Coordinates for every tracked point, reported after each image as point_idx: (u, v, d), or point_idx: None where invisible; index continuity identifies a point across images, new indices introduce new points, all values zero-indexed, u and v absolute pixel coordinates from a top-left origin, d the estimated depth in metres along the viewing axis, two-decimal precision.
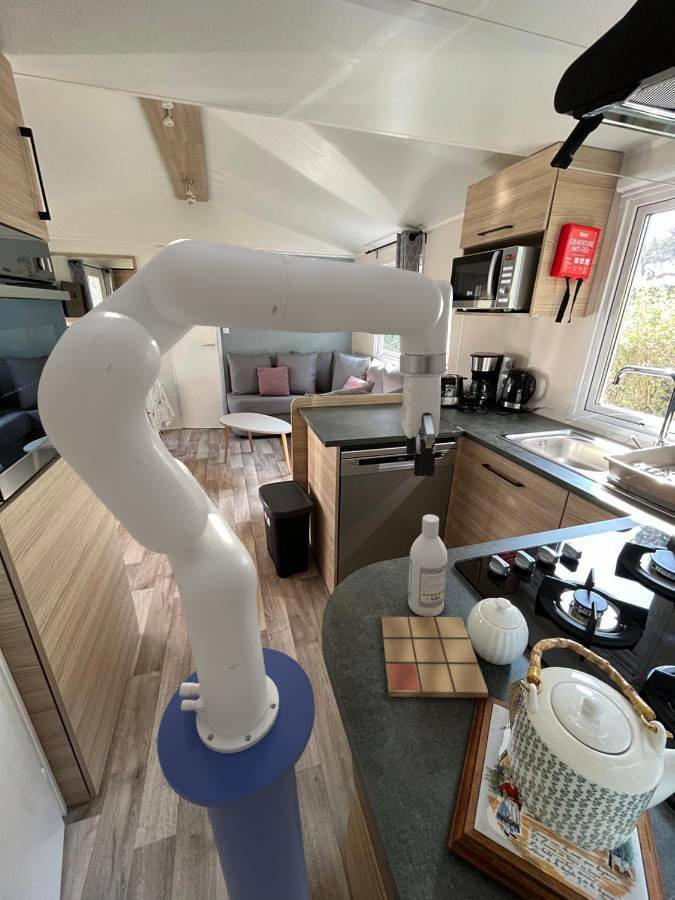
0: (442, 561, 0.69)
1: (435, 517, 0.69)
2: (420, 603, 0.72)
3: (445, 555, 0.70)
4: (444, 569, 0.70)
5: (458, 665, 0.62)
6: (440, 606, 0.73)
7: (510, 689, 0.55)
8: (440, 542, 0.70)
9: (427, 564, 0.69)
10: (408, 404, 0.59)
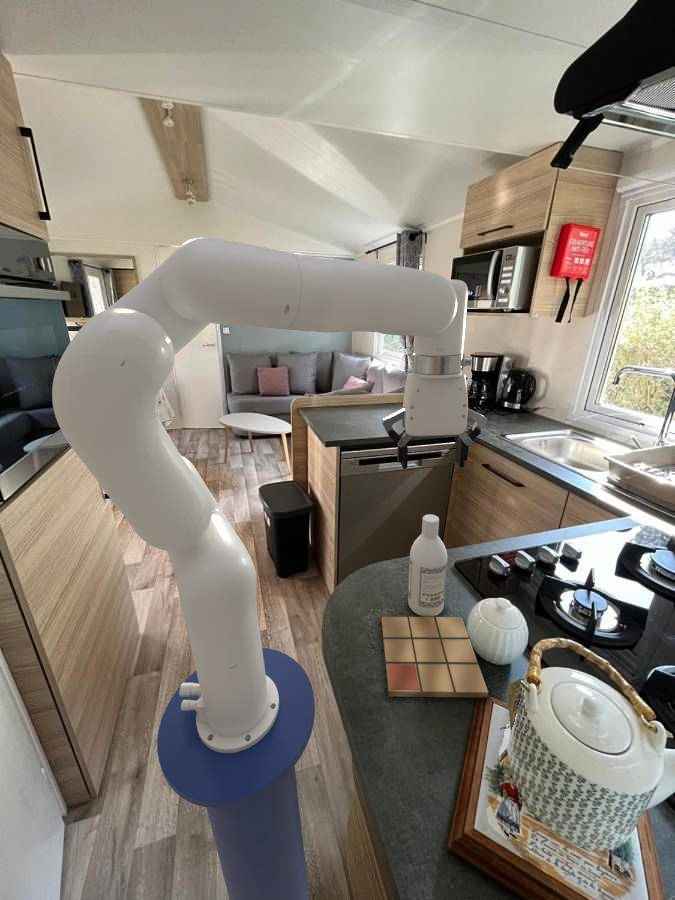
0: (442, 561, 0.69)
1: (435, 517, 0.69)
2: (420, 603, 0.72)
3: (445, 555, 0.70)
4: (444, 569, 0.70)
5: (458, 665, 0.62)
6: (440, 606, 0.73)
7: (510, 689, 0.55)
8: (440, 542, 0.70)
9: (427, 564, 0.69)
10: None
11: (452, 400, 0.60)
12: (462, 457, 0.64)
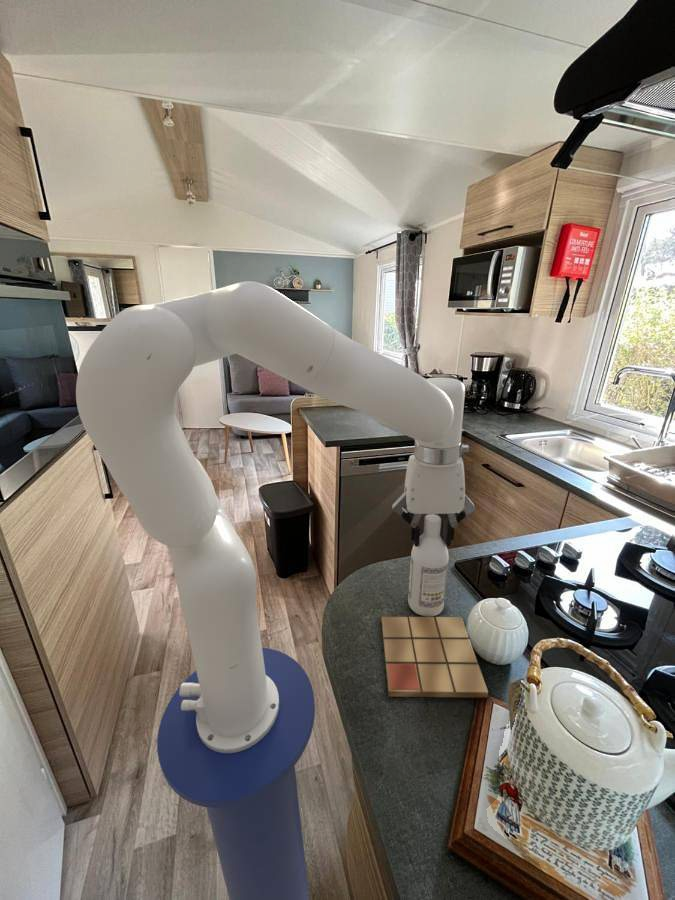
0: (443, 561, 0.69)
1: (437, 517, 0.69)
2: (421, 603, 0.72)
3: (446, 555, 0.70)
4: (445, 569, 0.70)
5: (458, 665, 0.62)
6: (440, 606, 0.73)
7: (510, 689, 0.55)
8: (442, 542, 0.70)
9: (428, 564, 0.69)
10: None
11: (450, 484, 0.64)
12: (448, 538, 0.69)
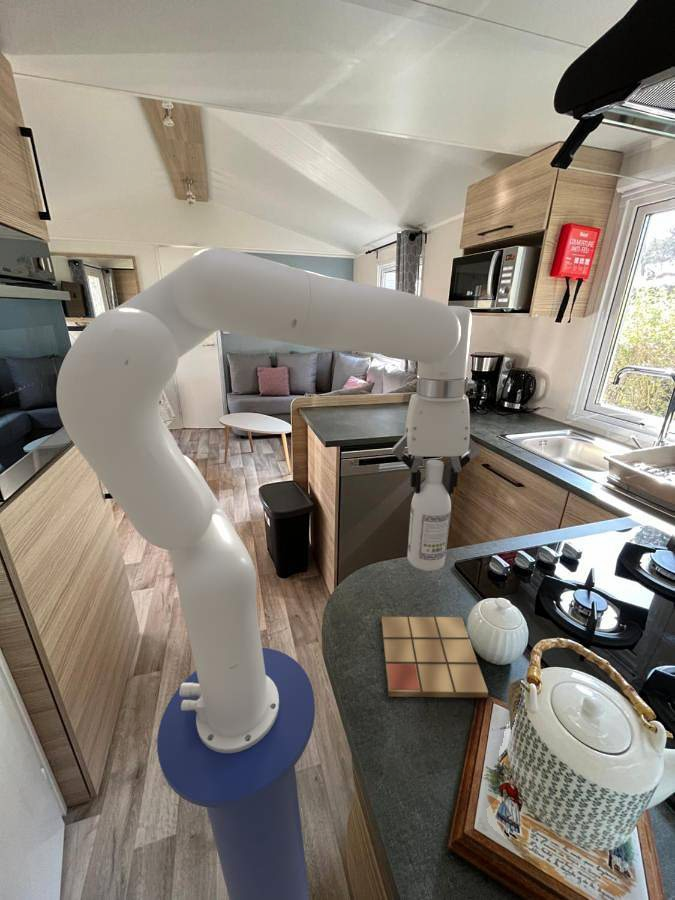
0: (446, 509, 0.65)
1: (440, 462, 0.65)
2: (421, 555, 0.68)
3: (449, 503, 0.66)
4: (447, 518, 0.66)
5: (458, 665, 0.62)
6: (441, 559, 0.68)
7: (510, 689, 0.55)
8: (444, 489, 0.66)
9: (430, 511, 0.65)
10: None
11: (454, 422, 0.60)
12: (451, 484, 0.65)
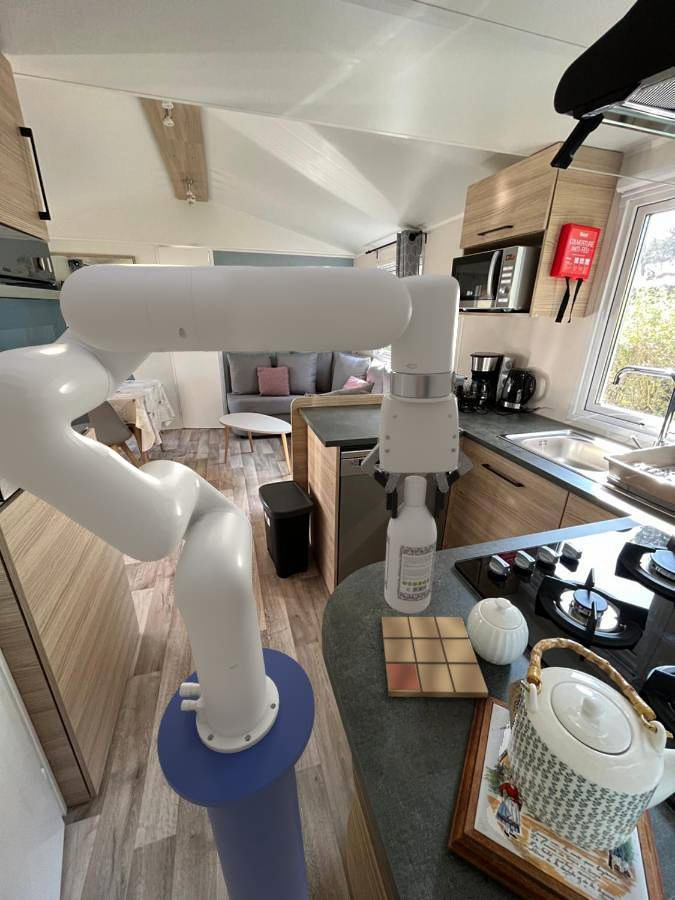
0: (430, 538, 0.51)
1: (422, 478, 0.51)
2: (399, 595, 0.54)
3: (434, 530, 0.52)
4: (432, 549, 0.52)
5: (458, 665, 0.62)
6: (425, 599, 0.55)
7: (510, 689, 0.55)
8: (428, 513, 0.52)
9: (409, 542, 0.51)
10: None
11: (439, 430, 0.46)
12: (436, 507, 0.51)
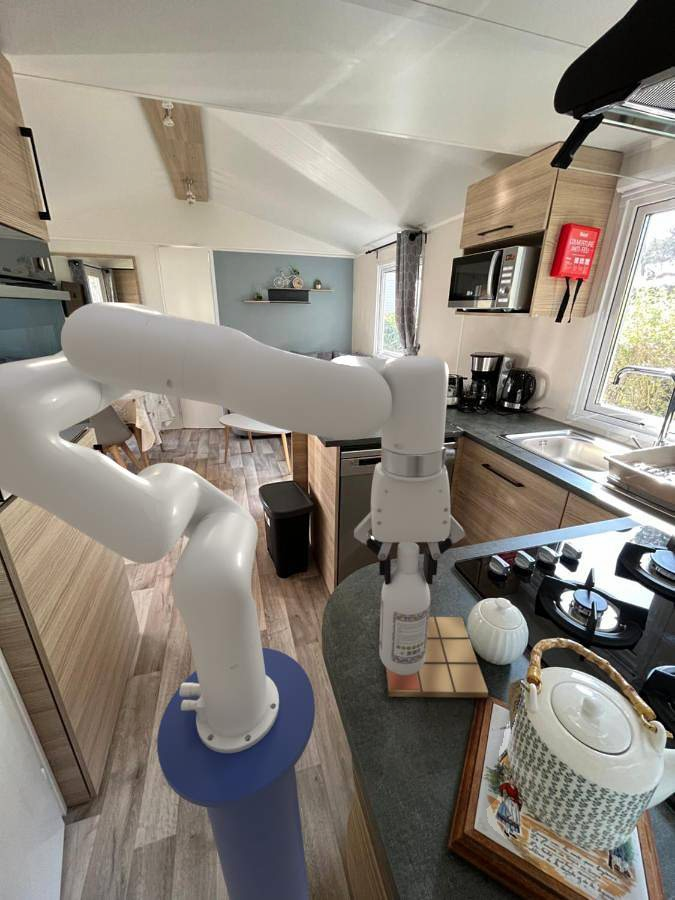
0: (423, 604, 0.52)
1: (414, 545, 0.52)
2: (394, 658, 0.54)
3: (427, 596, 0.52)
4: (425, 614, 0.52)
5: (458, 665, 0.62)
6: (419, 661, 0.55)
7: (510, 689, 0.55)
8: (421, 579, 0.52)
9: (402, 609, 0.51)
10: None
11: (430, 504, 0.47)
12: (429, 573, 0.51)
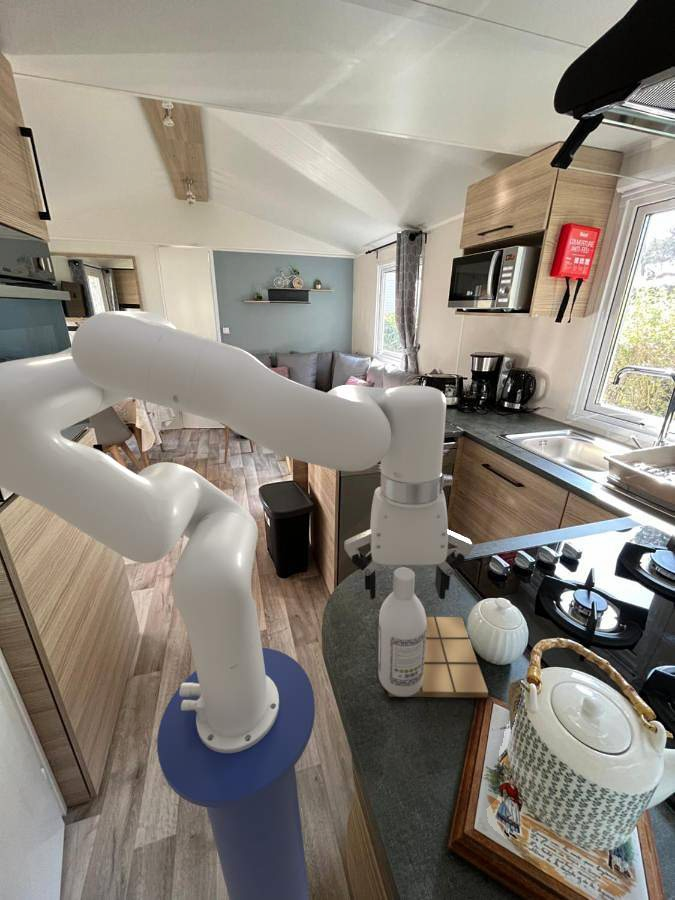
0: (419, 629, 0.53)
1: (410, 572, 0.53)
2: (392, 680, 0.56)
3: (423, 621, 0.54)
4: (422, 639, 0.54)
5: (458, 665, 0.62)
6: (417, 683, 0.57)
7: (510, 689, 0.55)
8: (417, 604, 0.54)
9: (399, 634, 0.53)
10: None
11: (428, 529, 0.48)
12: (442, 588, 0.52)
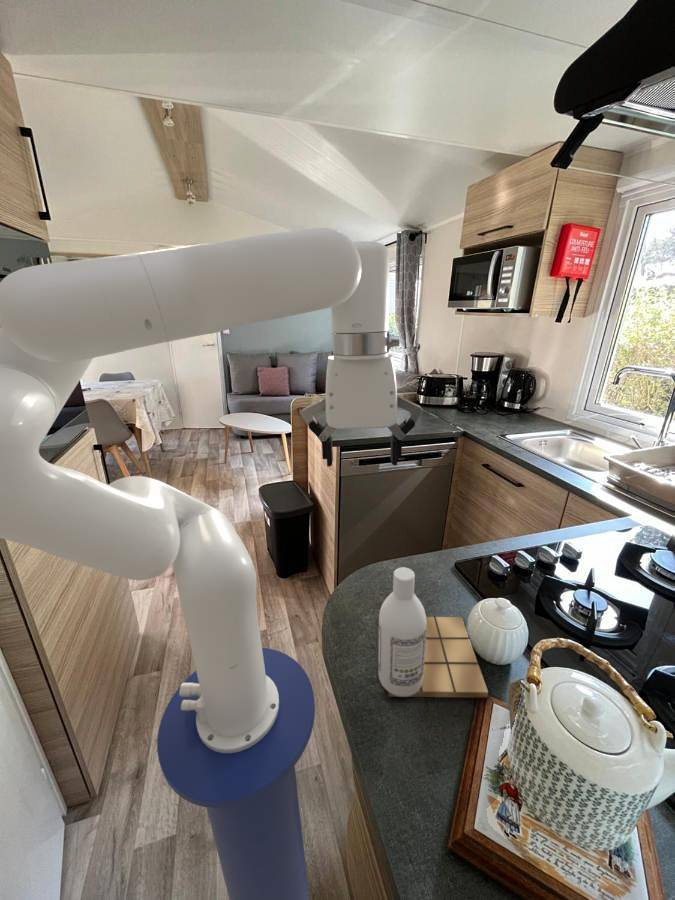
0: (419, 629, 0.53)
1: (410, 572, 0.53)
2: (392, 680, 0.56)
3: (423, 621, 0.54)
4: (422, 639, 0.54)
5: (458, 665, 0.62)
6: (417, 683, 0.57)
7: (510, 689, 0.55)
8: (417, 604, 0.54)
9: (399, 634, 0.53)
10: None
11: (377, 386, 0.51)
12: (394, 453, 0.55)
